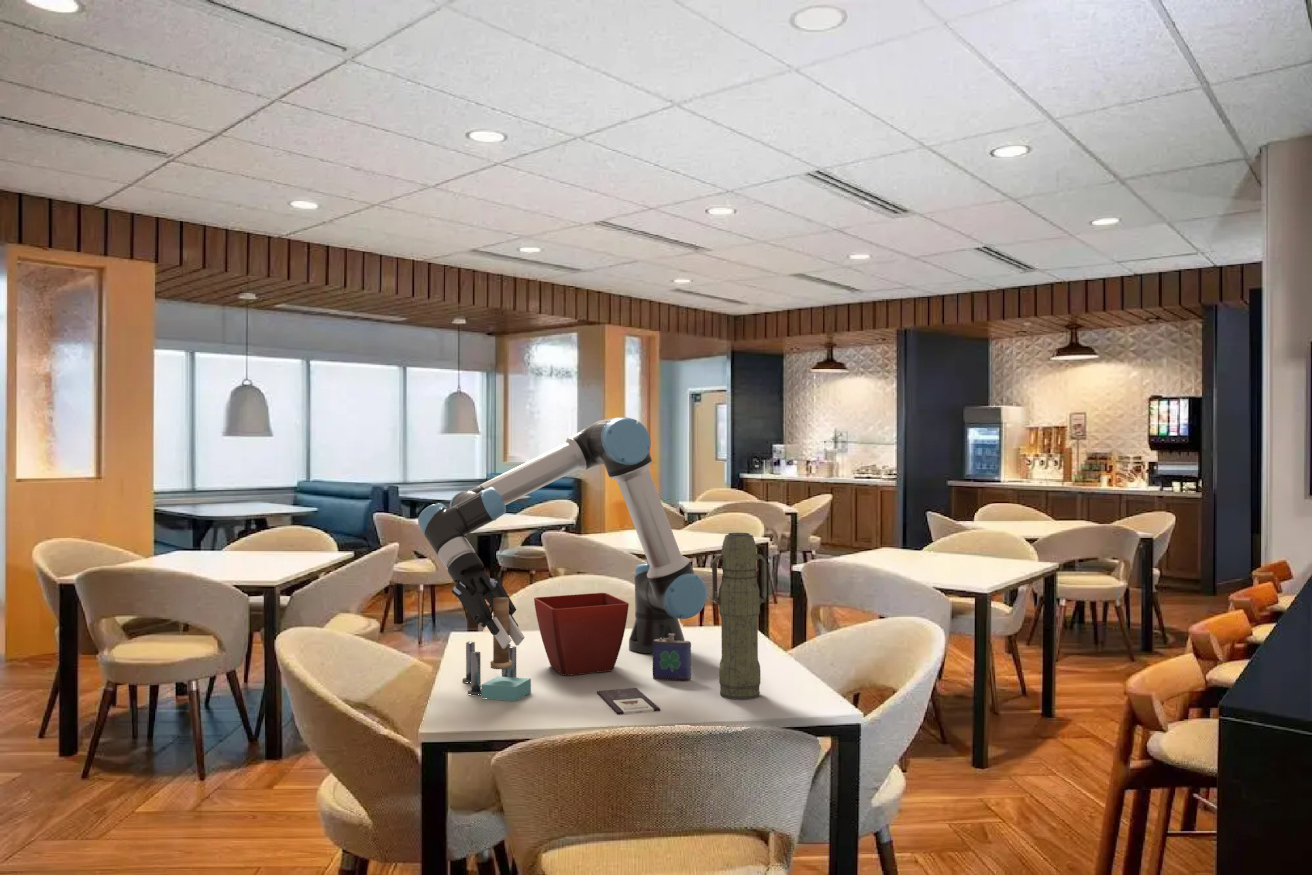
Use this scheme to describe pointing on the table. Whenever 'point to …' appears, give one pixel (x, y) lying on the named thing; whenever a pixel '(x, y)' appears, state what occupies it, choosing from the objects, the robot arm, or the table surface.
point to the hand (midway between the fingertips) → (513, 642)
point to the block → (506, 688)
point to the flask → (671, 659)
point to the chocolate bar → (627, 701)
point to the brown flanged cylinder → (502, 615)
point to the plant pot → (581, 631)
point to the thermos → (739, 615)
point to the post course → (475, 671)
